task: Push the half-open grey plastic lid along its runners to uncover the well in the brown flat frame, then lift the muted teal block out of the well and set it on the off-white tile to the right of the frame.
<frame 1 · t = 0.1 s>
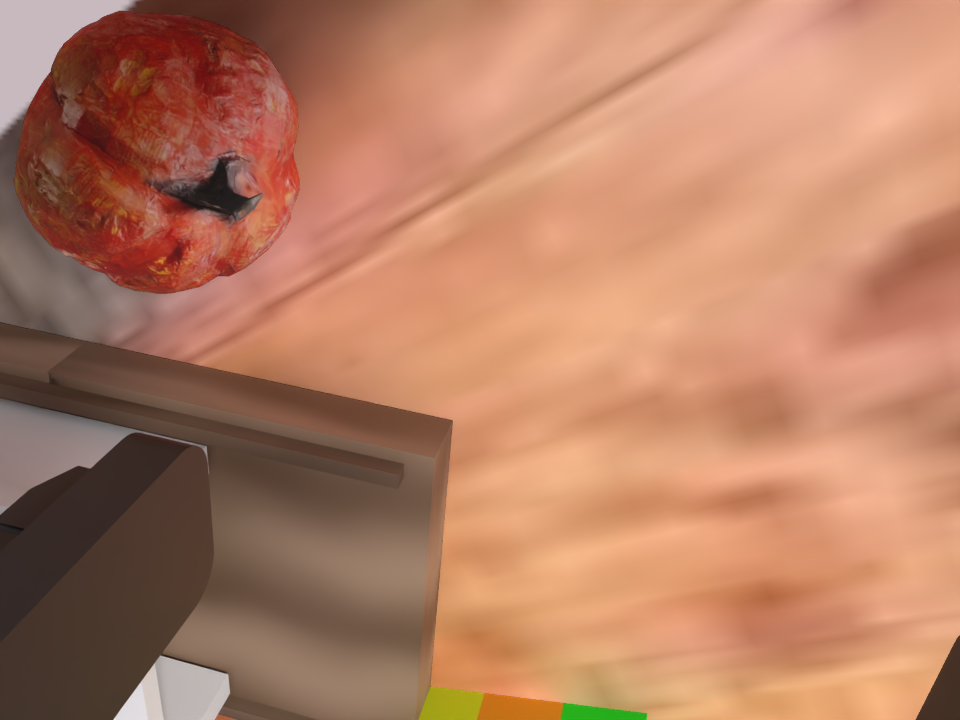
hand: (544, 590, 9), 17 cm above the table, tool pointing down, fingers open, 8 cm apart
pomegranate: (223, 122, 27), on the table
brown flat frame: (147, 515, 36), on the table
cover: (22, 640, 31), point 7 cm above the table, slide at 0.0 cm
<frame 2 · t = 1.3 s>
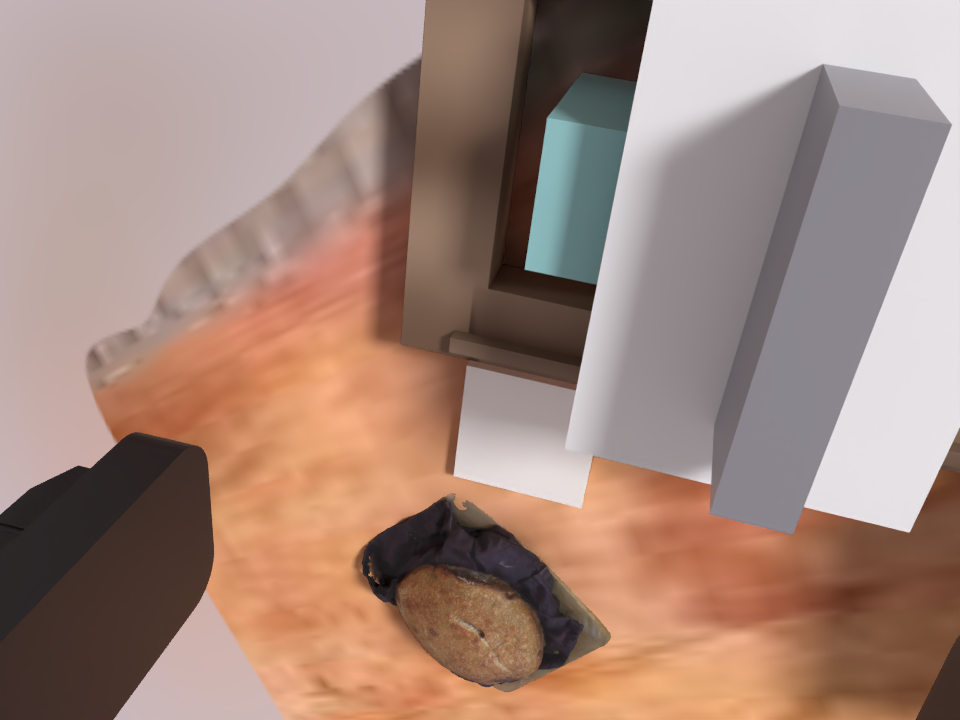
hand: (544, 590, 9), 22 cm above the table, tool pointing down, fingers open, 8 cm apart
brown flat frame: (805, 184, 29), on the table
bread roll: (485, 585, 42), on the table
block: (636, 152, 30), resting in brown flat frame
cover: (801, 264, 23), point 7 cm above the table, slide at 0.0 cm
pad: (528, 430, 36), on the table
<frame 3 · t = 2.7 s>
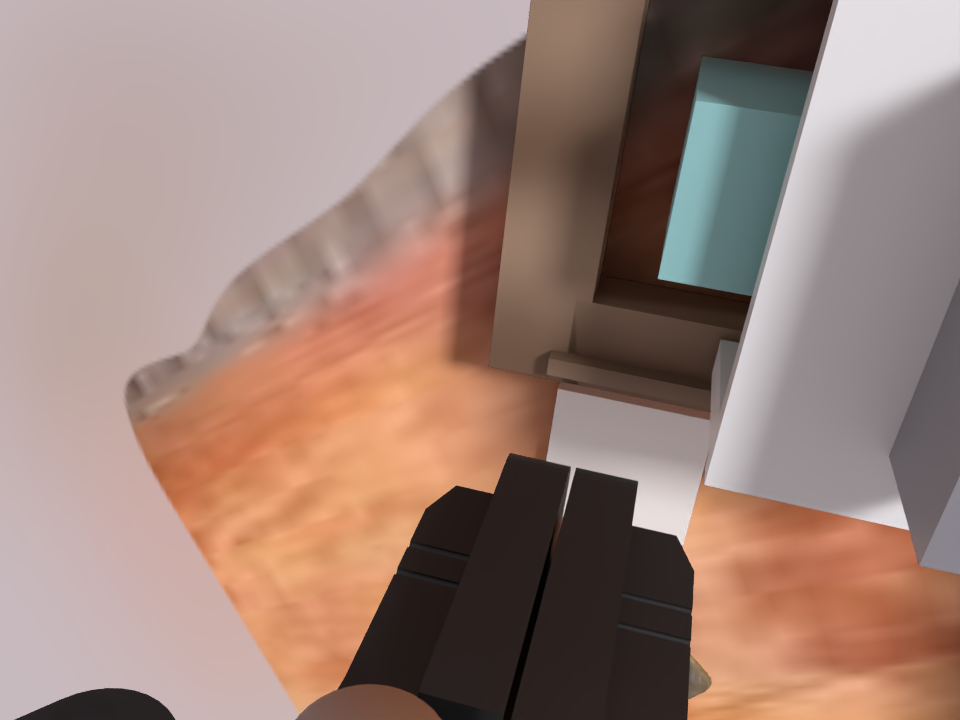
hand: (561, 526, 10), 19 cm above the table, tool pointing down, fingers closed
brown flat frame: (959, 176, 25), on the table
bread roll: (568, 628, 38), on the table
block: (762, 145, 26), resting in brown flat frame
pad: (623, 459, 32), on the table
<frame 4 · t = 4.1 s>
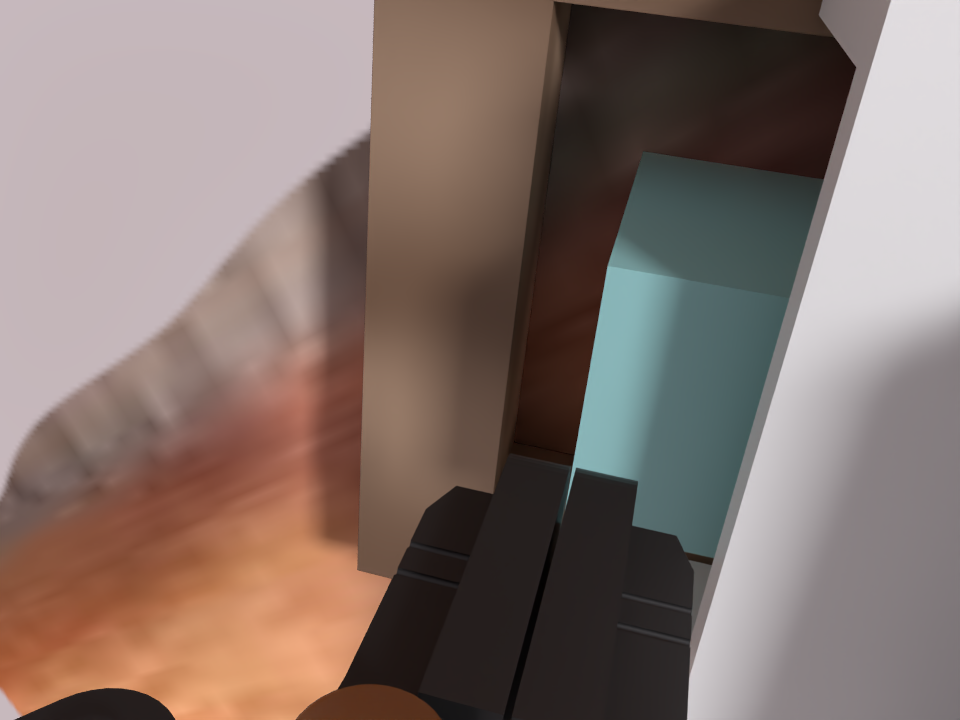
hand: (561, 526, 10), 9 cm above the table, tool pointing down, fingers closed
block: (734, 277, 18), resting in brown flat frame
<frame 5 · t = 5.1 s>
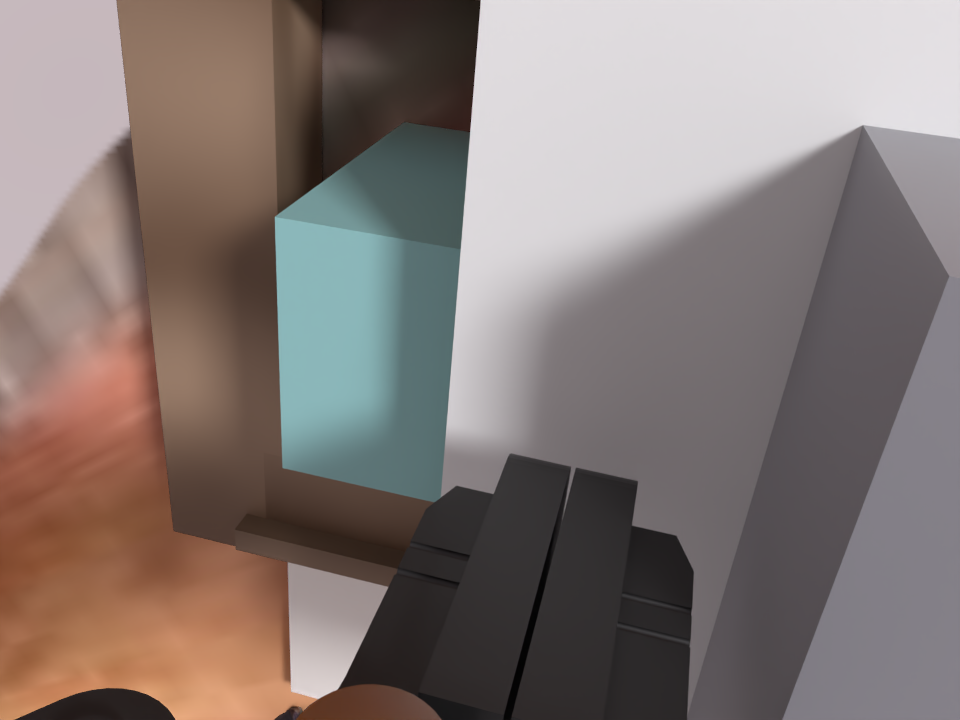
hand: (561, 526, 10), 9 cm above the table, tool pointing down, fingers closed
brown flat frame: (768, 291, 18), on the table
block: (501, 243, 19), resting in brown flat frame
cover: (823, 506, 12), point 7 cm above the table, slide at 0.9 cm, touching gripper
pad: (389, 632, 25), on the table
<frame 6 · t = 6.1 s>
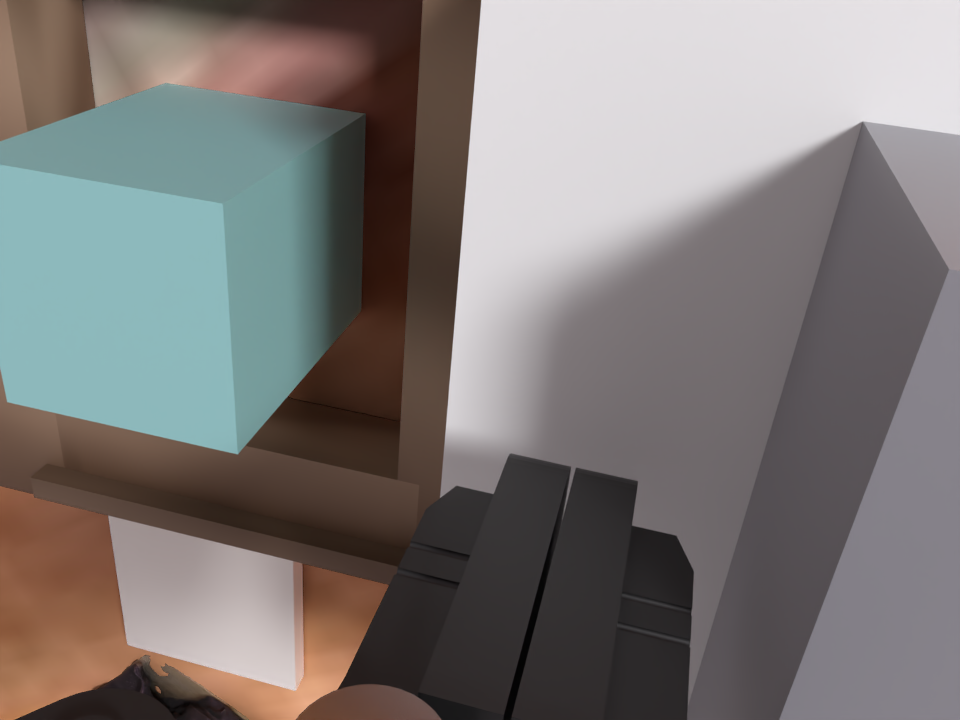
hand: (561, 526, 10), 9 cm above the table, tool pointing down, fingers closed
brown flat frame: (508, 244, 19), on the table
block: (267, 200, 20), resting in brown flat frame
cover: (822, 502, 12), point 7 cm above the table, slide at 6.3 cm, touching gripper
pad: (214, 585, 26), on the table
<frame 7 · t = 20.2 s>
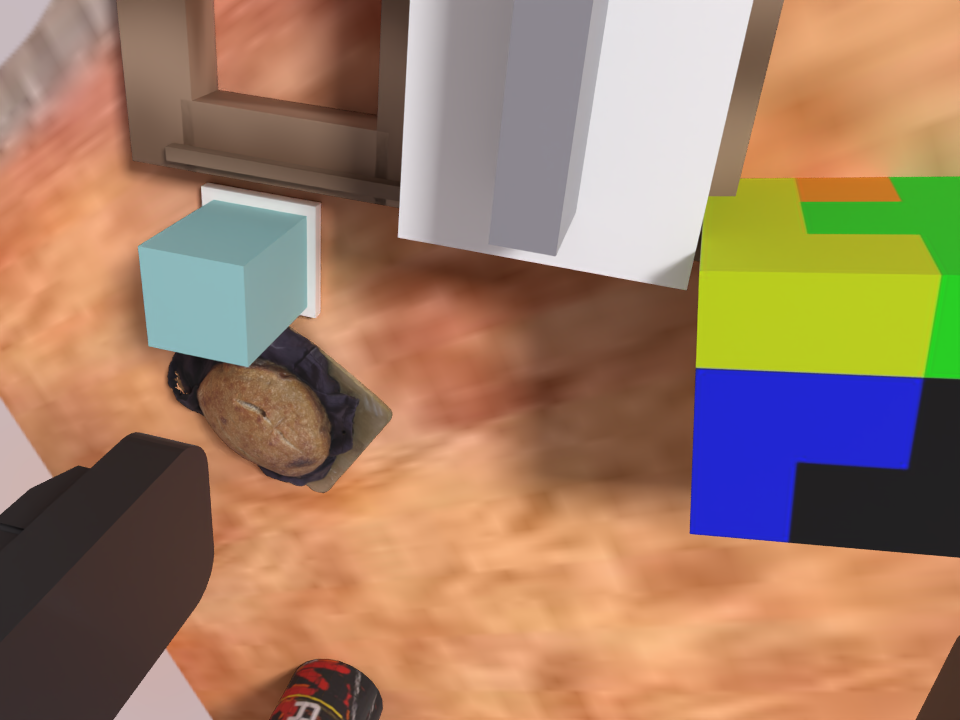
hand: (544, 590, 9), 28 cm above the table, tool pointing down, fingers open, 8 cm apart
deodorant: (338, 692, 55), on the table
puzzle toy: (826, 292, 36), on the table, touching brown flat frame
bread roll: (284, 388, 46), on the table
block: (261, 254, 41), point 1 cm above the table, touching pad
cover: (570, 45, 27), point 7 cm above the table, slide at 6.8 cm
pad: (265, 249, 41), on the table
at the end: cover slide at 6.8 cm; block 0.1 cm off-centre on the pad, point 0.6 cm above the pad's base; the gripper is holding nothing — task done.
